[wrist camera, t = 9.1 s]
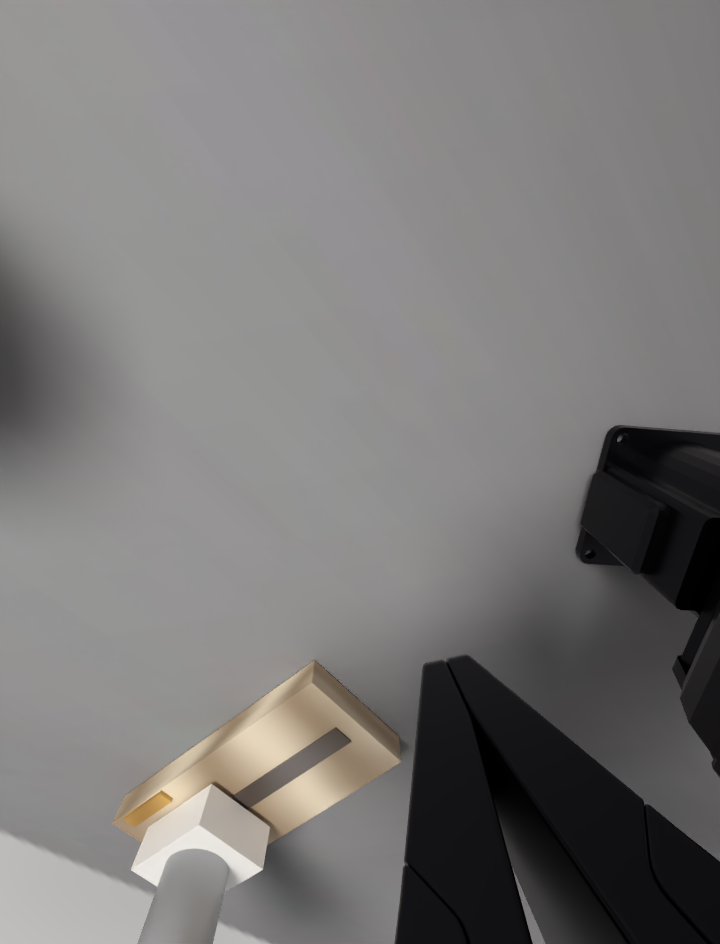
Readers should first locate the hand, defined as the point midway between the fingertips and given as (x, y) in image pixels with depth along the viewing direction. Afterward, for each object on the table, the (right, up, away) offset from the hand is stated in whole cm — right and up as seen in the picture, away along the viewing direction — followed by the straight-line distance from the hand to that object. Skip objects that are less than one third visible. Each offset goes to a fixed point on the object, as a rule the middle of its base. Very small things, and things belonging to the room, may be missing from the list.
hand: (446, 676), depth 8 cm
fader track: (-7, -13, +17) cm, 23 cm away
